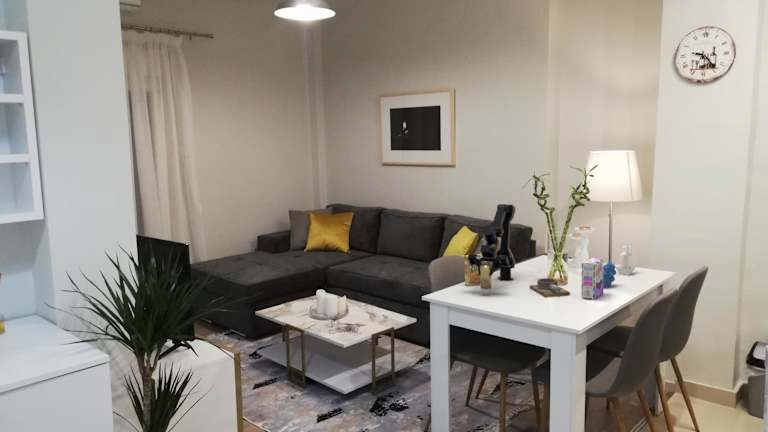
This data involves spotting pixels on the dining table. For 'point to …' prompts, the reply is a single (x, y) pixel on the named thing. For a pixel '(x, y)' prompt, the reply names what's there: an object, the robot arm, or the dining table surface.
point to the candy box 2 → (592, 278)
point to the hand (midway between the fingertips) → (484, 275)
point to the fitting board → (548, 292)
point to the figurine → (625, 261)
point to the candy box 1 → (471, 272)
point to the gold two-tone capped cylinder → (485, 275)
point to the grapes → (608, 274)
